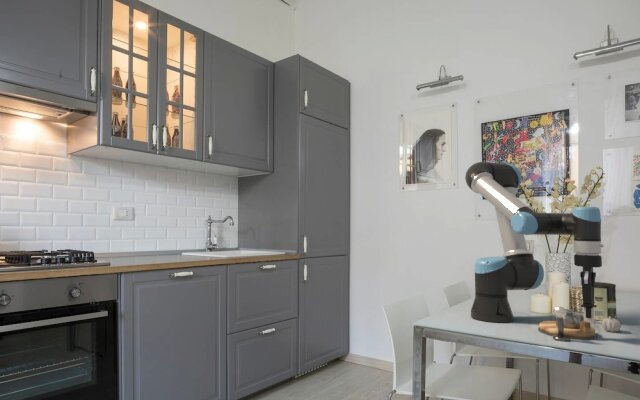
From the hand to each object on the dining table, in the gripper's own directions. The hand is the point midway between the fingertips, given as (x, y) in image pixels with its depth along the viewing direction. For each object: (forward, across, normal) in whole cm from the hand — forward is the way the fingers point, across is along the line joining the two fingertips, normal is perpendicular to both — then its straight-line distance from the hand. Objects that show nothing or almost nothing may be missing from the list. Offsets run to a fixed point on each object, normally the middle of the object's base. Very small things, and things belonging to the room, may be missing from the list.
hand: (589, 327), depth 132 cm
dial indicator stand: (+3, -8, +7) cm, 11 cm away
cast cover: (+1, +2, +6) cm, 7 cm away
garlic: (+4, +15, -5) cm, 16 cm away
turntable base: (+3, +2, +7) cm, 8 cm away
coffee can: (+4, +32, 0) cm, 32 cm away
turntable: (+3, +2, +7) cm, 8 cm away
